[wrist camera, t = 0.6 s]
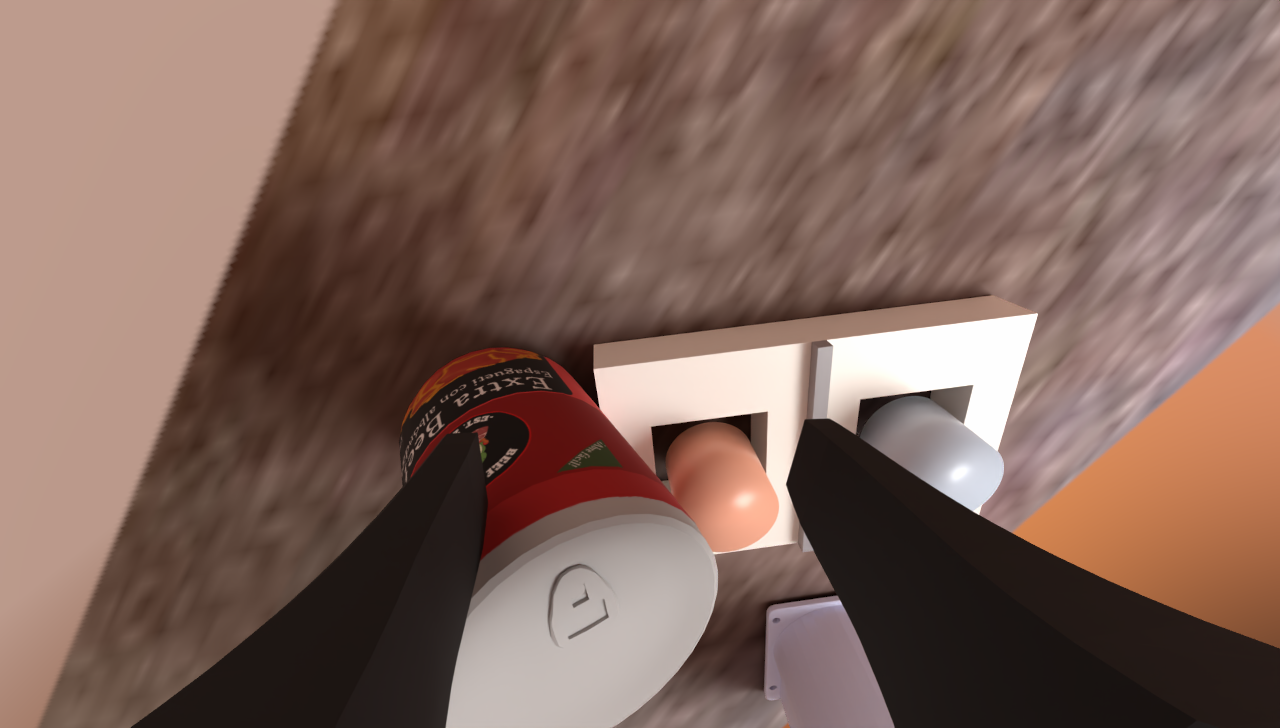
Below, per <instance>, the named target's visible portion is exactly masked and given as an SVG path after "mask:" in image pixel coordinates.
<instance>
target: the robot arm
mask: <svg viewBox="0 0 1280 728" xmlns="http://www.w3.org/2000/svg"><path fill="white" fill-rule="evenodd" d="M786 486H787V489H788V492H789V495H790V498H791V501H792V504H793V507H794V509H795V512H796V514H797V517H798V520H799V522H800V525H801V527H802V529H803V531H804V533H805V535H806V537H807V539H808V540H809V542H810V544H811V546H812V548H813V550H814V552H815V554H816V556H817V558H818V560H819V562H820V564H821V565H822V567H823V569H824V571H825V573H826V575H827V577H828V579H829V580H830V582H831V584H832V586H833V588H834V590H835V592H836V594H837V596H831V597H824V598H817V599H810V600H803V601H796V602H789V603H782V604H775V605H771V606H770V607H769V608H768V609H767V615H766V646H765V676H764V694H765V697H766V699H768V700H777V699H781V701H782V704H783V707H784V711H785V714H786V717H787V720H788V723H789V726H790V728H1280V649H1279V648H1276V647H1274V646H1271V645H1269V644H1266V643H1263V642H1260V641H1258V640H1255V639H1252V638H1249V637H1246V636H1244V635H1241V634H1239V633H1236V632H1233V631H1230V630H1228V629H1225V628H1222V627H1219V626H1217V625H1214V624H1211V623H1209V622H1206V621H1203V620H1201V619H1198V618H1196V617H1193V616H1191V615H1188V614H1186V613H1184V612H1181V611H1179V610H1176V609H1173V608H1171V607H1169V606H1167V605H1164V604H1162V603H1159V602H1157V601H1154V600H1152V599H1149V598H1147V597H1145V596H1142V595H1140V594H1138V593H1135V592H1133V591H1130V590H1128V589H1126V588H1124V587H1121V586H1119V585H1117V584H1115V583H1112V582H1110V581H1108V580H1106V579H1103V578H1101V577H1099V576H1097V575H1095V574H1093V573H1091V572H1089V571H1086V570H1084V569H1082V568H1080V567H1078V566H1076V565H1074V564H1072V563H1069V562H1067V561H1065V560H1063V559H1061V558H1059V557H1057V556H1055V555H1053V554H1051V553H1049V552H1047V551H1045V550H1043V549H1041V548H1039V547H1037V546H1035V545H1033V544H1031V543H1029V542H1027V541H1025V540H1024V539H1022V538H1020V537H1018V536H1016V535H1014V534H1013V533H1011V532H1009V531H1007V530H1005V529H1003V528H1001V527H1000V526H998V525H996V524H994V523H992V522H991V521H989V520H987V519H985V518H984V517H982V516H980V515H978V514H977V513H975V512H973V511H972V510H970V509H968V508H967V507H965V506H963V505H962V504H960V503H958V502H957V501H955V500H954V499H952V498H950V497H949V496H947V495H945V494H944V493H942V492H940V491H939V490H937V489H936V488H934V487H933V486H931V485H930V484H928V483H926V482H925V481H923V480H922V479H920V478H919V477H917V476H916V475H914V474H913V473H911V472H910V471H908V470H907V469H905V468H904V467H902V466H901V465H899V464H898V463H896V462H895V461H893V460H892V459H890V458H889V457H887V456H886V455H885V454H883V453H882V452H880V451H879V450H877V449H876V448H874V447H873V446H871V445H870V444H868V443H867V442H866V441H864V440H863V439H861V438H860V437H858V436H857V435H855V434H854V433H852V432H851V431H849V430H848V429H846V428H845V427H843V426H841V425H840V424H838V423H837V422H835V421H833V420H831V419H830V418H826V419H805V420H804V424H803V427H802V431H801V434H800V437H799V441H798V444H797V448H796V451H795V454H794V458H793V461H792V465H791V468H790V472H789V475H788V478H787V482H786ZM487 510H488V497H487V491H486V484H485V478H484V471H483V464H482V458H481V451H480V445H479V438H478V432H475V433H450V434H446V435H445V436H444V437H443V438H442V439H441V440H440V442H439V443H438V444H437V446H436V447H435V448H434V449H433V451H432V452H431V453H430V454H429V456H428V457H427V458H426V459H425V461H424V462H423V463H422V464H421V466H420V467H419V468H418V469H417V470H416V472H415V473H414V474H413V475H412V477H411V478H410V479H409V480H408V481H407V483H406V484H405V485H404V486H403V487H402V488H401V489H400V491H399V492H398V493H397V494H396V495H395V496H394V498H393V499H392V500H391V501H390V502H389V503H388V504H387V506H386V507H385V508H384V509H383V510H382V511H381V512H380V513H379V515H378V516H377V517H376V518H375V519H374V520H373V521H372V522H371V523H370V524H369V525H368V526H367V527H366V528H365V529H364V530H363V532H362V533H361V534H360V535H359V536H358V537H357V538H356V539H355V540H354V541H353V542H352V543H351V544H350V545H349V546H348V547H347V548H346V549H345V550H344V551H343V552H342V553H341V554H340V555H339V556H338V557H337V558H336V559H335V560H334V561H333V562H332V563H331V564H330V565H329V566H328V567H327V568H326V569H325V570H324V571H323V572H322V573H321V574H320V575H319V576H318V577H317V578H316V579H315V580H313V581H312V582H311V583H310V584H309V585H308V586H307V587H306V588H305V589H304V590H302V591H301V592H300V593H299V594H298V595H297V596H296V597H295V598H294V599H293V600H292V601H290V602H289V603H288V604H287V605H286V606H285V607H284V608H282V609H281V610H280V611H279V612H278V613H277V614H275V615H274V616H273V617H272V618H271V619H269V620H268V621H267V622H266V623H265V624H264V625H262V626H261V627H260V628H259V629H258V630H256V631H255V632H254V633H253V634H252V635H250V636H249V637H248V638H247V639H245V640H244V641H243V642H242V643H241V644H239V645H238V646H237V647H236V648H234V649H233V650H232V651H231V652H230V653H228V654H227V655H226V656H225V657H223V658H222V659H221V660H220V661H219V662H217V663H216V664H215V665H214V666H212V667H211V668H210V669H208V670H207V671H206V672H205V673H203V674H202V675H201V676H199V677H198V678H197V679H195V680H194V681H193V682H191V683H190V684H189V685H187V686H186V687H185V688H183V689H182V690H181V691H180V692H178V693H177V694H176V695H174V696H173V697H172V698H170V699H169V700H168V701H166V702H165V703H164V704H162V705H161V706H159V707H158V708H157V709H155V710H154V711H153V712H151V713H150V714H148V715H147V716H146V717H144V718H143V719H142V720H140V721H139V722H137V723H136V724H135V725H133V726H132V727H131V728H446V722H447V715H448V708H449V701H450V694H451V688H452V682H453V677H454V672H455V666H456V661H457V657H458V652H459V648H460V644H461V640H462V636H463V631H464V627H465V623H466V619H467V614H468V610H469V606H470V602H471V598H472V593H473V589H474V585H475V581H476V576H477V572H478V568H479V564H480V559H481V555H482V550H483V544H484V536H485V528H486V519H487Z"/></svg>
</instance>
